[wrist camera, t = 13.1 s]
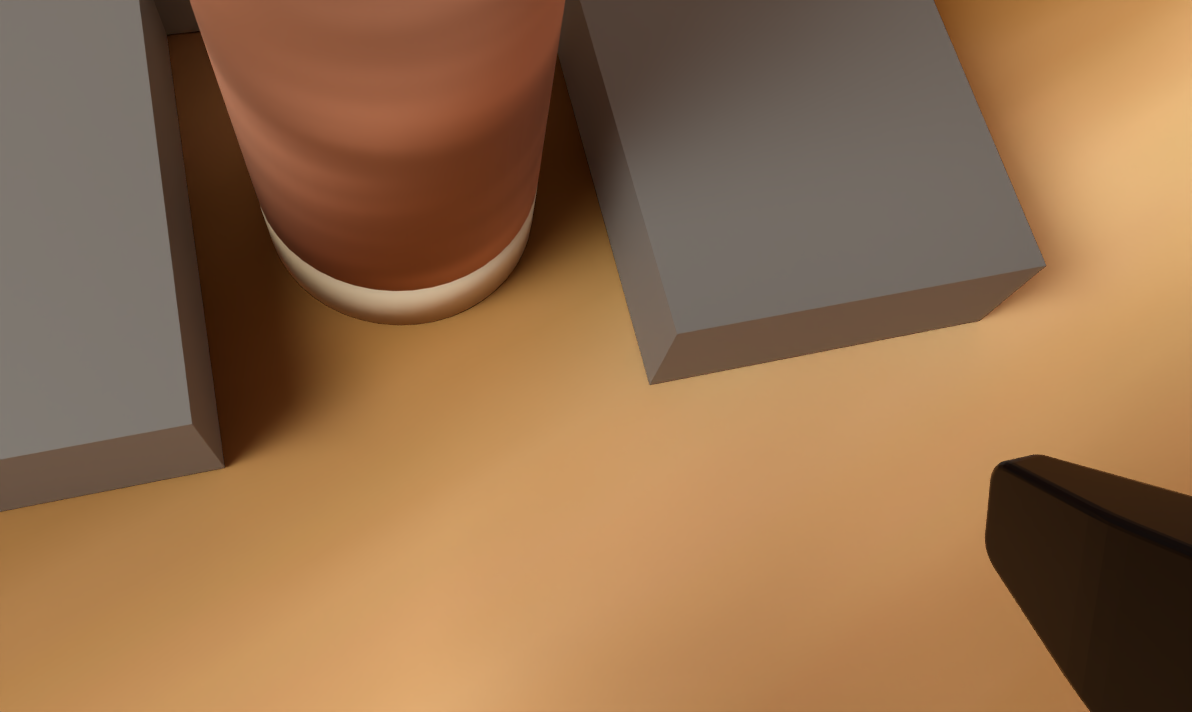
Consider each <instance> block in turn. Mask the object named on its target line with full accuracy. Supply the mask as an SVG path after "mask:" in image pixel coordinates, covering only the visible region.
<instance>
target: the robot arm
mask: <svg viewBox="0 0 1192 712" xmlns="http://www.w3.org/2000/svg"><path fill="white" fill-rule="evenodd" d="M985 544H986V550H987V553H988V556H989V559H990V561H991V563H992V565H993V567H994V568H995V570H996V571H997V573H998V575H999V576H1000V578H1001V579H1002V581H1003V582H1004V584H1005V585H1006V587H1007V588H1008V590H1009V591H1010V593H1011V594H1012V596H1013V598H1014V599H1015V601H1016V602H1017V604H1018V605H1019V607H1020V608H1021V610H1022V611H1023V613H1024V614H1025V616H1026V617H1027V619H1028V620H1029V622H1030V624H1031V625H1032V627H1033V628H1034V630H1035V631H1036V633H1037V634H1038V636H1039V637H1040V639H1041V640H1042V642H1043V643H1044V645H1045V647H1046V648H1047V650H1048V651H1049V653H1050V654H1051V656H1052V657H1053V659H1054V660H1055V662H1056V663H1057V665H1058V666H1059V668H1060V670H1061V671H1062V673H1063V674H1064V676H1065V677H1066V679H1067V680H1068V681H1069V683H1070V684H1071V686H1072V687H1073V689H1074V690H1075V691H1076V693H1077V694H1078V696H1079V697H1080V699H1081V700H1082V701H1083V703H1084V704H1085V705H1086V706H1087V708H1088V709H1089V710H1090V712H1192V496H1189V495H1185V494H1182V493H1178V492H1175V491H1171V490H1167V489H1164V488H1160V487H1157V486H1153V485H1150V484H1146V483H1142V482H1139V481H1135V480H1132V479H1128V478H1124V477H1121V476H1117V475H1114V474H1110V473H1106V472H1103V471H1099V470H1096V469H1092V468H1088V467H1085V466H1081V465H1078V464H1074V463H1070V462H1067V461H1063V460H1060V459H1056V458H1052V457H1049V456H1045V455H1030V456H1025V457H1021V458H1016V459H1012V460H1008V461H1003V462H1001V463H999V464H998V465H997V466H996V467H995V468H994V470H993V472H992V474H991V480H990V489H989V499H988V510H987V520H986V530H985Z"/></svg>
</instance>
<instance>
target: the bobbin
mask: <svg viewBox="0 0 1192 712" xmlns="http://www.w3.org/2000/svg"><path fill="white" fill-rule="evenodd" d="M190 3H191V6H192V9H193V12H194V15H195V18H196V21H197V23H198V26H199V29H200V32H201V35H202V38H203V41H204V44H205V47H206V50H207V53H208V56H209V58H210V61H211V64H212V67H213V70H214V73H215V76H216V79H217V82H218V85H219V88H220V90H221V93H222V96H223V99H224V102H225V105H226V108H227V111H228V114H229V117H230V120H231V123H232V125H233V128H234V131H235V134H236V137H237V140H238V143H239V146H240V149H241V152H242V155H243V157H244V160H245V163H246V166H247V169H248V172H249V175H250V178H251V181H252V184H253V187H254V189H255V192H256V195H257V198H258V201H259V204H260V207H261V210H262V213H263V216H264V219H265V222H266V224H267V227H268V230H269V233H270V236H271V239H272V242H273V245H274V247H275V249H276V251H277V254H278V256H279V258H280V260H281V261H282V263H283V264H284V266H285V267H286V269H287V270H288V272H289V273H290V275H291V276H292V277H293V278H294V279H295V280H296V281H297V283H298V284H299V285H300V286H301V287H302V288H303V289H305V290H306V291H307V292H308V293H309V294H311V295H312V296H313V297H314V298H316V299H317V300H319V301H320V302H322V303H323V304H325V305H326V306H328V307H330V308H332V309H334V310H336V311H338V312H340V313H343V314H345V315H348V316H351V317H354V318H357V319H360V320H364V321H368V322H373V323H378V324H389V325H414V324H421V323H428V322H434V321H437V320H441V319H444V318H448V317H451V316H453V315H456V314H458V313H460V312H463V311H465V310H467V309H469V308H471V307H472V306H474V305H476V304H477V303H479V302H481V301H482V300H484V299H485V298H486V297H487V296H489V295H490V294H491V293H493V292H494V291H495V290H496V289H497V288H498V287H499V286H500V285H501V284H502V283H503V282H504V281H505V280H506V279H507V277H508V276H509V275H510V273H511V272H512V271H513V269H514V268H515V267H516V265H517V263H518V261H519V260H520V258H521V256H522V254H523V252H524V249H525V247H526V244H527V241H528V239H529V234H530V229H531V225H532V218H533V212H534V205H535V198H536V192H537V185H538V178H539V172H540V165H541V158H542V152H543V145H544V139H545V132H546V125H547V119H548V112H549V105H550V99H551V92H552V85H553V79H554V72H555V65H556V59H557V52H558V45H559V39H560V32H561V26H562V19H563V12H564V6H565V0H190Z"/></svg>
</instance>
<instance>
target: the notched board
mask: <svg viewBox="0 0 1192 712" xmlns="http://www.w3.org/2000/svg"><path fill="white" fill-rule="evenodd" d="M196 31H200V29H199V26H198V23H197V21H196V18H195V15H194V12H193V9H192V6H191V3H190V0H0V511H5V510H10V509H16V508H21V507H26V506H31V505H36V504H41V503H46V502H51V501H57V500H62V499H67V498H72V497H77V496H82V495H87V494H93V493H98V492H103V491H108V490H113V489H118V488H123V487H128V486H134V485H139V484H144V483H149V482H154V481H159V480H164V479H169V478H175V477H180V476H185V475H190V474H195V473H200V472H205V471H211V470H216V469H221V468H225V466H224V458H223V451H222V443H221V436H220V428H219V421H218V413H217V406H216V398H215V391H214V384H213V376H212V369H211V361H210V354H209V346H208V339H207V331H206V324H205V316H204V309H203V301H202V294H201V286H200V279H199V271H198V264H197V256H196V249H195V241H194V234H193V226H192V219H191V212H190V204H189V197H188V189H187V182H186V174H185V167H184V159H183V152H182V144H181V137H180V129H179V122H178V114H177V107H176V99H175V92H174V84H173V77H172V69H171V62H170V54H169V47H168V40H167V35H169V34H178V33H187V32H196ZM557 53H558V56H559V60H560V64H561V67H562V71H563V74H564V78H565V82H566V85H567V89H568V92H569V96H570V100H571V103H572V107H573V110H574V114H575V118H576V121H577V125H578V129H579V132H580V136H581V139H582V143H583V147H584V150H585V154H586V157H587V161H588V165H589V168H590V172H591V175H592V179H593V183H594V186H595V190H596V193H597V197H598V201H599V204H600V208H601V211H602V215H603V219H604V222H605V226H606V230H607V233H608V237H609V240H610V244H611V248H612V251H613V255H614V258H615V262H616V266H617V269H618V273H619V276H620V280H621V284H622V287H623V291H624V294H625V298H626V302H627V305H628V309H629V312H630V316H631V320H632V323H633V327H634V330H635V334H636V338H637V341H638V345H639V349H640V352H641V356H642V359H643V363H644V367H645V370H646V374H647V377H648V381H649V385H652V384H657V383H662V382H667V381H672V380H677V379H683V378H688V377H693V376H698V375H703V374H708V373H713V372H719V371H724V370H729V369H734V368H739V367H744V366H749V365H754V364H760V363H765V362H770V361H775V360H780V359H785V358H790V357H795V356H801V355H806V354H811V353H816V352H821V351H826V350H831V349H837V348H842V347H847V346H852V345H857V344H862V343H867V342H872V341H878V340H883V339H888V338H893V337H898V336H903V335H908V334H913V333H919V332H924V331H929V330H934V329H939V328H944V327H949V326H955V325H960V324H965V323H970V322H975V321H980V320H981V319H982V318H983V317H985V316H986V315H987V314H988V313H989V312H991V311H992V310H993V309H994V308H996V307H997V306H998V305H999V304H1000V303H1002V302H1003V301H1004V300H1005V299H1006V298H1008V297H1009V296H1010V295H1011V294H1012V293H1014V292H1015V291H1016V290H1017V289H1019V288H1020V287H1021V286H1022V285H1023V284H1025V283H1026V282H1027V281H1028V280H1029V279H1031V278H1032V277H1033V276H1034V275H1036V274H1037V273H1038V272H1039V271H1040V270H1042V269H1043V268H1044V267H1045V266H1046V264H1045V262H1044V259H1043V257H1042V254H1041V252H1040V250H1039V247H1038V245H1037V243H1036V240H1035V238H1034V236H1033V233H1032V231H1031V229H1030V226H1029V224H1028V222H1027V219H1026V217H1025V214H1024V212H1023V210H1022V207H1021V205H1020V203H1019V200H1018V198H1017V196H1016V193H1015V191H1014V189H1013V186H1012V184H1011V181H1010V179H1009V177H1008V174H1007V172H1006V170H1005V167H1004V165H1003V163H1002V160H1001V158H1000V156H999V153H998V151H997V148H996V146H995V144H994V141H993V139H992V137H991V134H990V132H989V130H988V127H987V125H986V123H985V120H984V118H983V116H982V113H981V111H980V108H979V106H978V104H977V101H976V99H975V97H974V94H973V92H972V90H971V87H970V85H969V83H968V80H967V78H966V75H965V73H964V71H963V68H962V66H961V64H960V61H959V59H958V57H957V54H956V52H955V50H954V47H953V45H952V43H951V40H950V38H949V35H948V33H947V31H946V28H945V26H944V24H943V21H942V19H941V17H940V14H939V12H938V10H937V7H936V5H935V2H934V0H565V6H564V12H563V19H562V26H561V32H560V39H559V45H558V52H557Z"/></svg>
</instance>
